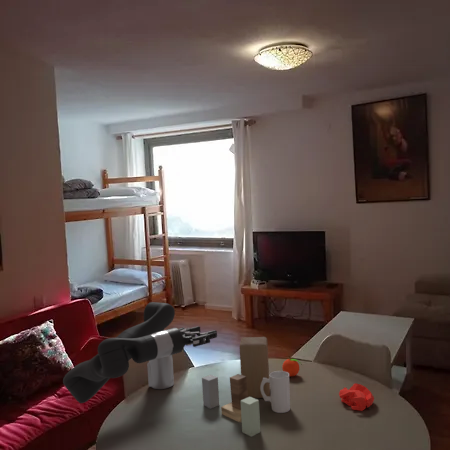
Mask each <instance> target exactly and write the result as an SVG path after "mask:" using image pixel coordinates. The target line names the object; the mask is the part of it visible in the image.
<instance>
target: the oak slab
mask: <svg viewBox="0 0 450 450" xmlns="http://www.w3.org/2000/svg"><path fill="white" fill-rule="evenodd" d="M220 408H221V409H220V410H221V415H222V416H225V417H227V418H229V419H231V420H233V421H236V422H238V423H242V418H241V410H239V409H237V408H234V407H232V401H231V402H229V403H227V404H225V405H222V406H221V407H220Z"/></svg>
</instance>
